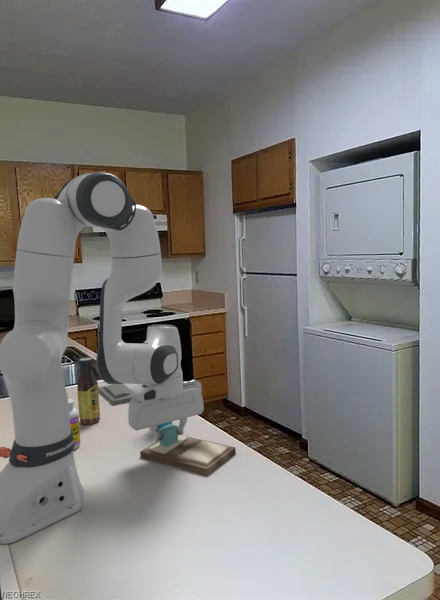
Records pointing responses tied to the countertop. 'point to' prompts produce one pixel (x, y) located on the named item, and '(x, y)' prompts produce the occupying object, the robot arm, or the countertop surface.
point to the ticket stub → (168, 439)
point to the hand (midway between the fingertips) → (168, 437)
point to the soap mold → (116, 393)
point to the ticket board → (193, 455)
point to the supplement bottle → (74, 423)
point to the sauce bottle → (88, 393)
